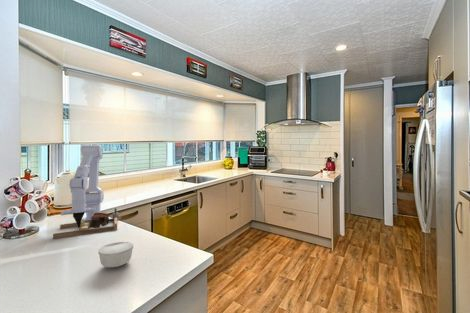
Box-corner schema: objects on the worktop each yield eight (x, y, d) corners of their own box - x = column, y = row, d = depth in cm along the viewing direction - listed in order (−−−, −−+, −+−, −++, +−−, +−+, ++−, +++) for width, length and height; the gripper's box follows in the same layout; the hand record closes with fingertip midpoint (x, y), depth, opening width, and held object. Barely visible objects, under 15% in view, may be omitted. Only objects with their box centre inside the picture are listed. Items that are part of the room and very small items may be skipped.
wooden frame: (61, 227, 120) (60, 213, 120) (118, 220, 133) (118, 207, 133) (53, 238, 104) (53, 221, 104) (119, 229, 117) (119, 214, 117)
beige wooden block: (82, 226, 121) (82, 218, 121) (89, 225, 122) (89, 217, 122) (80, 232, 111) (80, 223, 111) (87, 231, 113) (87, 222, 113)
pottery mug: (83, 228, 119) (88, 213, 123) (99, 231, 126) (104, 217, 130) (98, 226, 114) (103, 210, 118) (114, 229, 121) (118, 214, 125)
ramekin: (125, 252, 89) (124, 239, 89) (139, 260, 82) (139, 246, 82) (93, 262, 80) (93, 248, 80) (106, 273, 73) (105, 256, 73)
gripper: (59, 203, 109) (59, 232, 109) (94, 201, 116) (95, 227, 116) (62, 201, 115) (62, 228, 115) (95, 198, 122) (95, 223, 122)
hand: (78, 227), depth 116 cm, fingers closed
